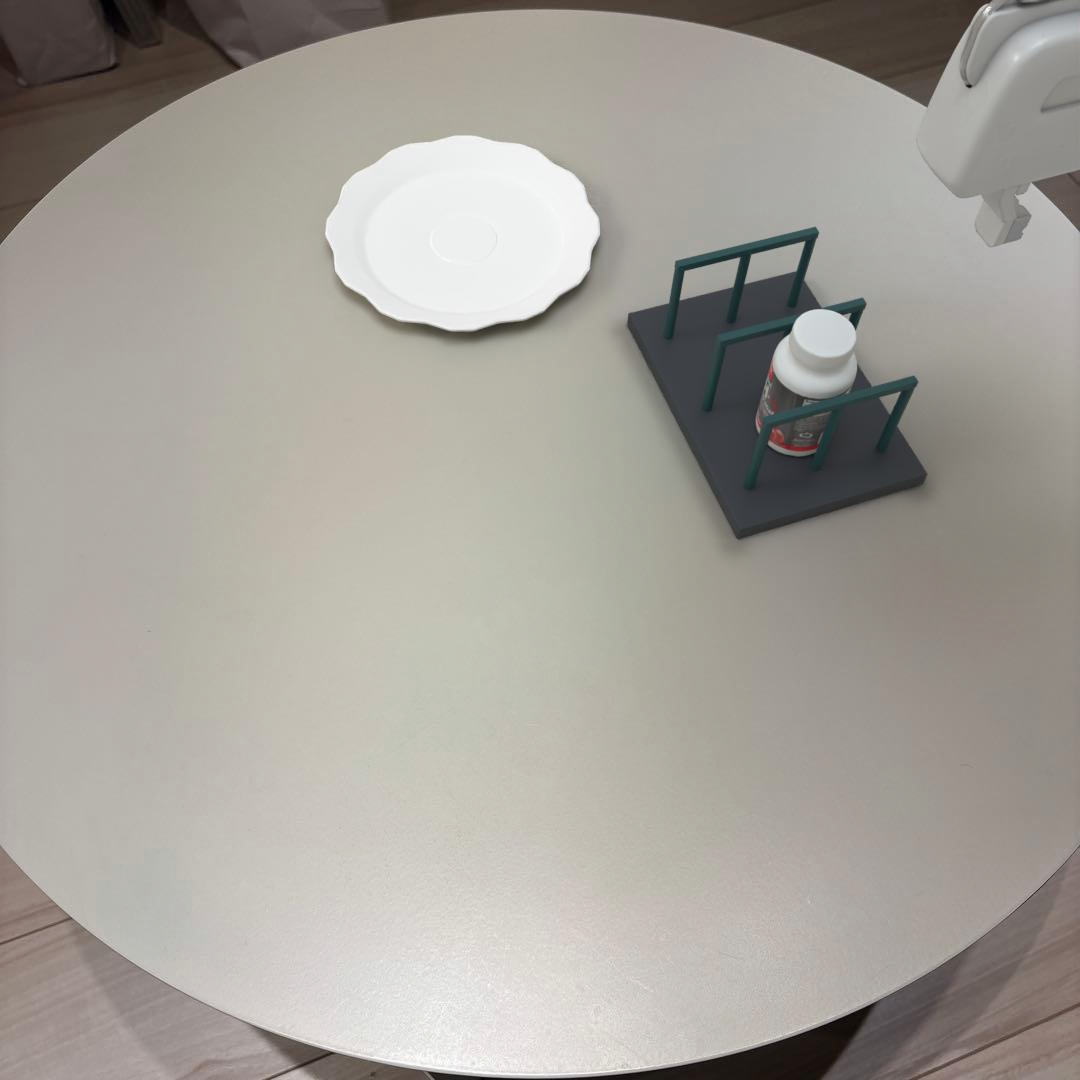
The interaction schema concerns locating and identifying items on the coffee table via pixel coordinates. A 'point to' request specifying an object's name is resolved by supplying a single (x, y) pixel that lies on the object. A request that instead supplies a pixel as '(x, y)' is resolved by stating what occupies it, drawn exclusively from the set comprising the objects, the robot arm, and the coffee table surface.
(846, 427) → the rack
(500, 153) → the plate
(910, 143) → the coffee table surface
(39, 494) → the coffee table surface
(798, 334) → the pill bottle
